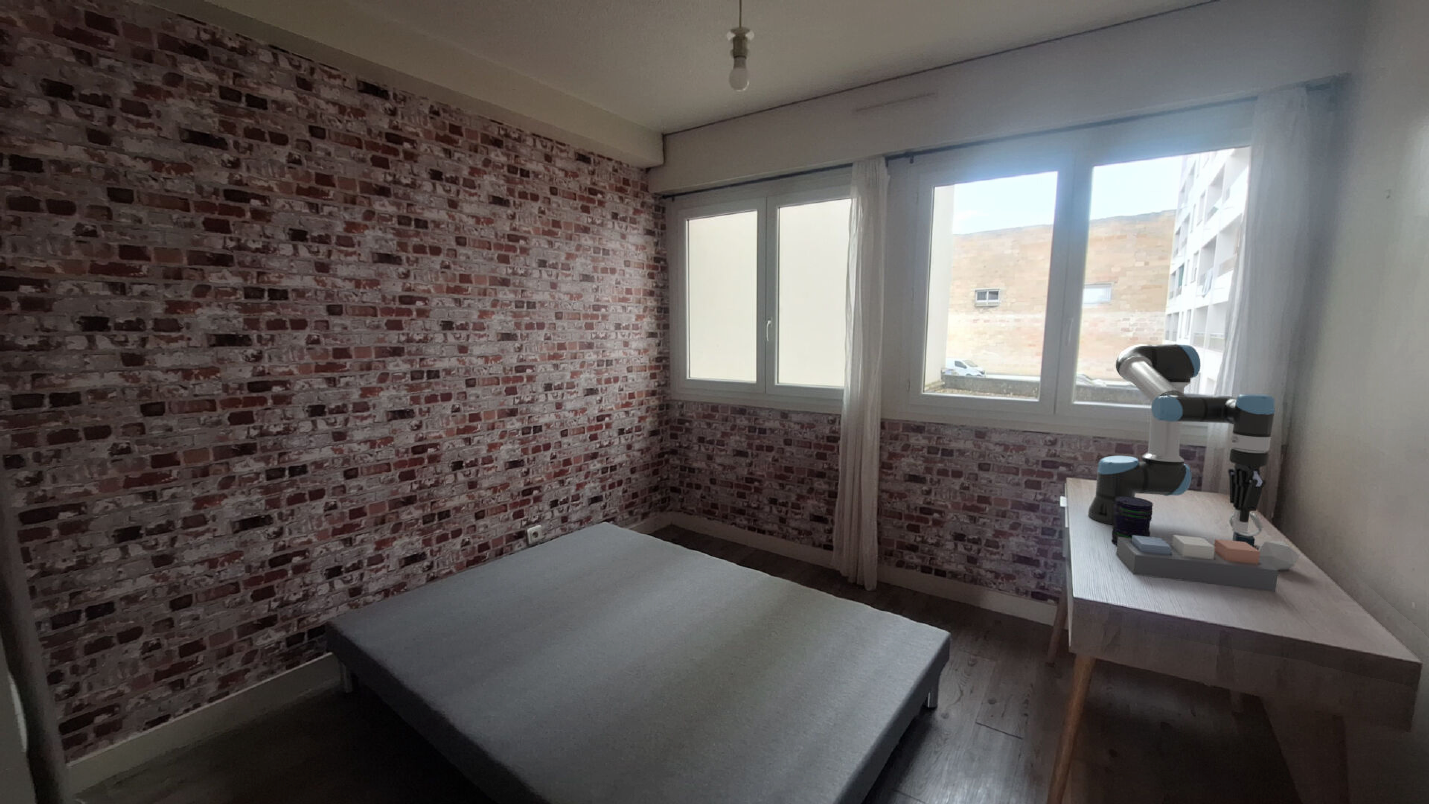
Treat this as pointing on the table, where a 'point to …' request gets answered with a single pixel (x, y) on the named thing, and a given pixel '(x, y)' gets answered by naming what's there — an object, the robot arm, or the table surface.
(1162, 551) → the slate blue key
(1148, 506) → the storage jar
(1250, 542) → the watch
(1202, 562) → the keypad housing
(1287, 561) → the die
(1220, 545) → the terracotta key
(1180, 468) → the robot arm
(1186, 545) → the white key
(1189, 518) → the table surface
